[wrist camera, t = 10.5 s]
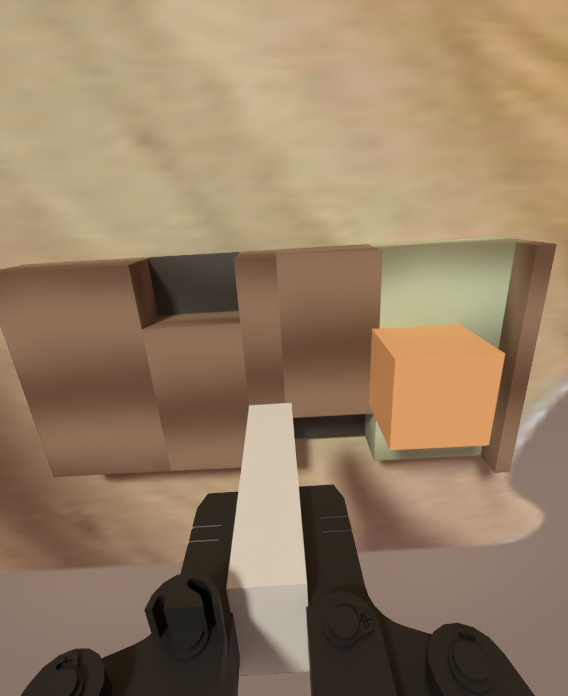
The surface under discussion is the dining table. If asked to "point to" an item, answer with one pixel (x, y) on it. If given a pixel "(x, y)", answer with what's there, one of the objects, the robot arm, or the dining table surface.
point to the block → (433, 386)
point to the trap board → (253, 345)
